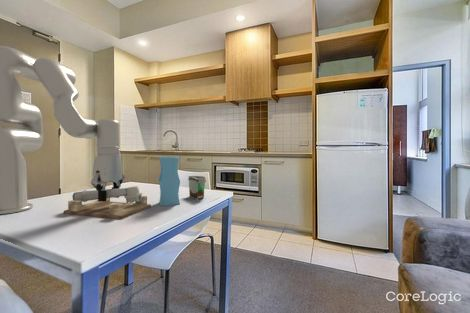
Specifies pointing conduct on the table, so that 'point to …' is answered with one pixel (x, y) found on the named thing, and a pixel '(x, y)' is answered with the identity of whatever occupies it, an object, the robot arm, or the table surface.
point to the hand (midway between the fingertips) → (109, 198)
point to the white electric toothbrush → (110, 194)
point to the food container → (196, 187)
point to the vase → (169, 181)
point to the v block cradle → (106, 208)
